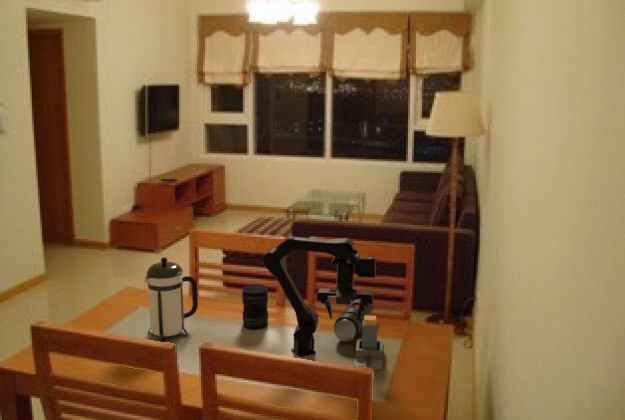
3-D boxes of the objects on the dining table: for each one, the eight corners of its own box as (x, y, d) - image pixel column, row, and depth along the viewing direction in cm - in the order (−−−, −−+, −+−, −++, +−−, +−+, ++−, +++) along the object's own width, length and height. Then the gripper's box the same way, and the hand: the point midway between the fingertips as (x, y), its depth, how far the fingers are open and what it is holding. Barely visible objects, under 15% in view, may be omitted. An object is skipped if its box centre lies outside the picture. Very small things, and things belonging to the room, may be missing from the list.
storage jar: (270, 320, 237) (270, 284, 234) (266, 330, 228) (265, 293, 225) (245, 319, 238) (244, 283, 235) (240, 329, 229) (239, 292, 226)
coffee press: (180, 345, 215) (177, 265, 209) (139, 341, 218) (135, 262, 212) (199, 326, 232) (196, 251, 225) (160, 322, 235) (157, 248, 228)
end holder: (354, 368, 198) (354, 357, 197) (357, 342, 218) (358, 332, 217) (381, 370, 197) (382, 359, 196) (382, 344, 216) (383, 333, 216)
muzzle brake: (374, 318, 240) (375, 294, 238) (357, 347, 214) (358, 320, 212) (351, 315, 243) (352, 291, 241) (331, 344, 217) (332, 317, 215)
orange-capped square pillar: (361, 355, 205) (362, 320, 202) (362, 349, 210) (363, 314, 207) (376, 356, 204) (377, 321, 202) (376, 350, 209) (377, 315, 206)
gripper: (314, 282, 195) (314, 327, 199) (372, 285, 193) (371, 330, 196) (318, 272, 206) (318, 314, 210) (373, 274, 204) (372, 317, 207)
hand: (344, 319), depth 205 cm, fingers open, 9 cm apart
